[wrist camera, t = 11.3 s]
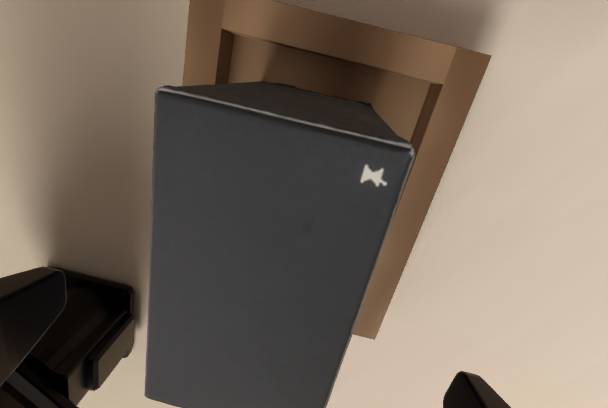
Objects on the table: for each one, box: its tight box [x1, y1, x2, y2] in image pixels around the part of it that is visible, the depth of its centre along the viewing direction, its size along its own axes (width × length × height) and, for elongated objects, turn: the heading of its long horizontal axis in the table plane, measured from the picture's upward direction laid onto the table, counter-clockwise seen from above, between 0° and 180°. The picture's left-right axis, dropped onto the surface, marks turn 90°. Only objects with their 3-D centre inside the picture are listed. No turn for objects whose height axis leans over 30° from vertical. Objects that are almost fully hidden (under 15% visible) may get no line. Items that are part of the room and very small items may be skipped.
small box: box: [145, 81, 415, 408], centre depth 14 cm, size 11×6×10 cm, turn 168°
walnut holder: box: [183, 0, 491, 340], centre depth 18 cm, size 13×16×3 cm
